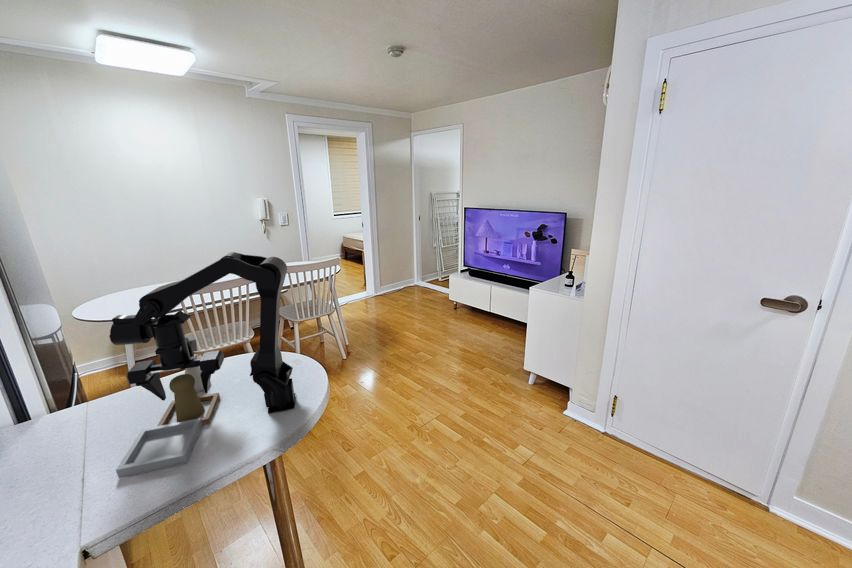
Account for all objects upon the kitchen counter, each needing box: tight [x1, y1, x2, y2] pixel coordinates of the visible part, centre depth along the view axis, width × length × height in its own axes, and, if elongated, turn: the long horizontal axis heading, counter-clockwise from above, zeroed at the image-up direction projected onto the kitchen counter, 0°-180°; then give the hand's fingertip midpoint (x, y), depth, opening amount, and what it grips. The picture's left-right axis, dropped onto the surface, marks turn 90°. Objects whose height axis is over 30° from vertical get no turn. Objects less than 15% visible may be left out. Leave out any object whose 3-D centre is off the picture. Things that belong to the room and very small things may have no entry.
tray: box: [115, 417, 204, 479], centre depth 77 cm, size 12×12×2 cm
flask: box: [184, 353, 212, 393], centre depth 97 cm, size 7×7×10 cm
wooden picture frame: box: [157, 392, 221, 426], centre depth 88 cm, size 11×11×2 cm
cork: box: [168, 373, 205, 422], centre depth 86 cm, size 6×6×11 cm
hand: (186, 395), depth 86 cm, fingers open, 9 cm apart
